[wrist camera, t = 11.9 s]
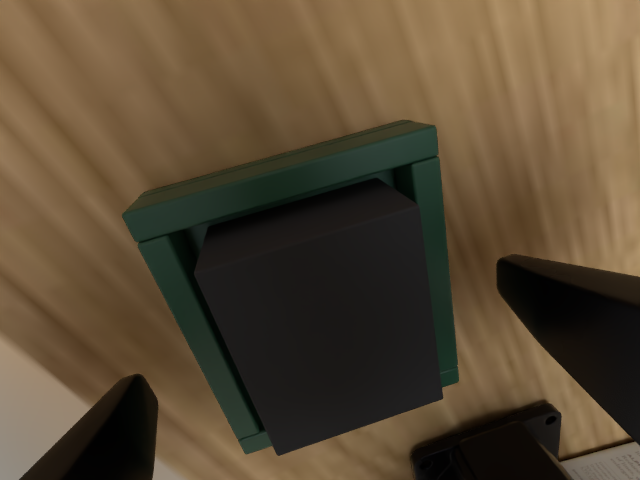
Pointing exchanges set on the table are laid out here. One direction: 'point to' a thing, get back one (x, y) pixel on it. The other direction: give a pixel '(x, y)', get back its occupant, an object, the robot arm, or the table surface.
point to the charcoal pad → (325, 310)
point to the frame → (275, 190)
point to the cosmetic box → (607, 464)
